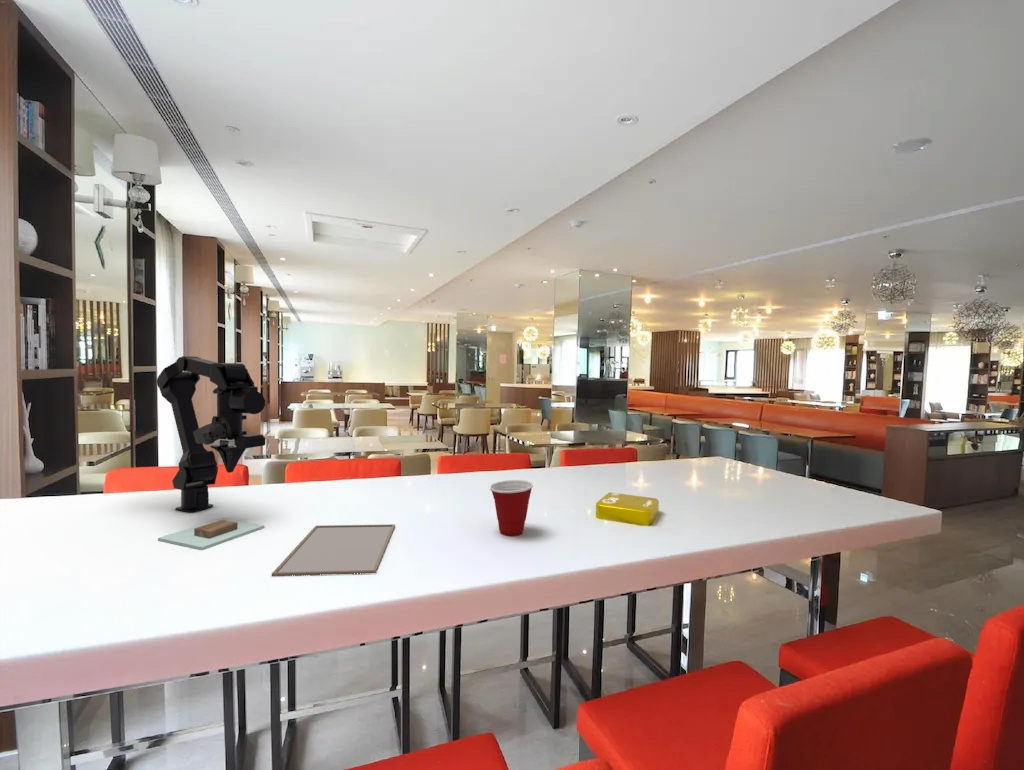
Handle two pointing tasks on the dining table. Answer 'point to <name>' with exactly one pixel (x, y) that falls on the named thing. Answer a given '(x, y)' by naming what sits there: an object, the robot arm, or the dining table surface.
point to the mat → (202, 543)
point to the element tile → (627, 509)
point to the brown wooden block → (215, 528)
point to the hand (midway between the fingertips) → (229, 472)
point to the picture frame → (338, 550)
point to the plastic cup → (511, 505)
